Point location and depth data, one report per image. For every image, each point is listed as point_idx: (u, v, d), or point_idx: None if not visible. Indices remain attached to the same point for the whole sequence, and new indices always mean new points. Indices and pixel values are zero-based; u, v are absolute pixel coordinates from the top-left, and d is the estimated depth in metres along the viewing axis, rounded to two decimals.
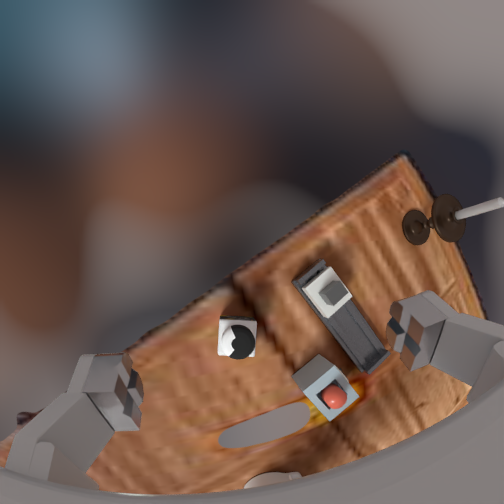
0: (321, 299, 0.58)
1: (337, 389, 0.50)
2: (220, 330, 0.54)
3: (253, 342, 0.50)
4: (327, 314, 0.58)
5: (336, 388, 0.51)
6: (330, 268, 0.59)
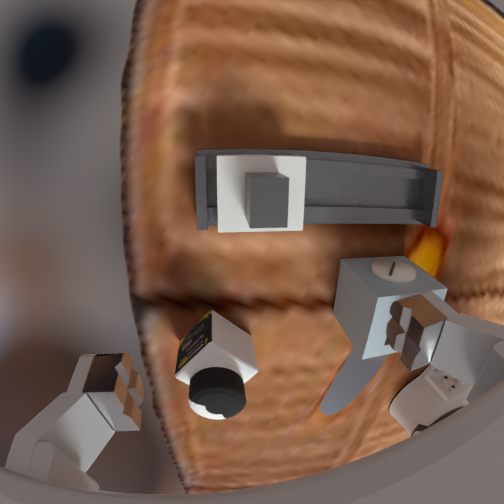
0: None
1: None
2: (190, 384, 0.32)
3: (231, 391, 0.27)
4: (295, 227, 0.28)
5: None
6: (220, 159, 0.25)
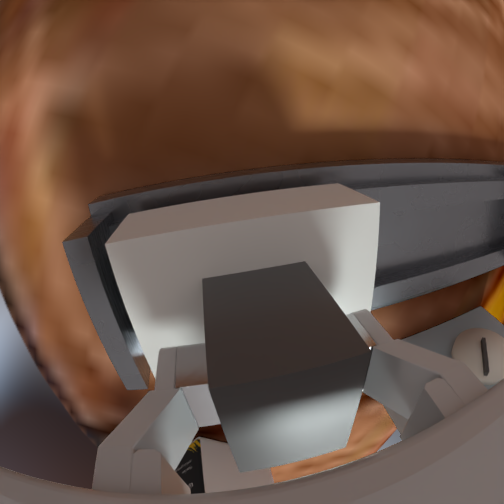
0: None
1: None
2: None
3: None
4: None
5: None
6: (117, 252, 0.07)
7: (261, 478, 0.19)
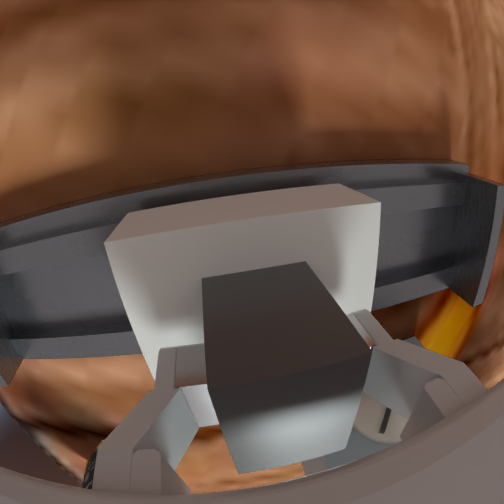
0: None
1: None
2: None
3: None
4: None
5: None
6: (116, 251, 0.07)
7: None
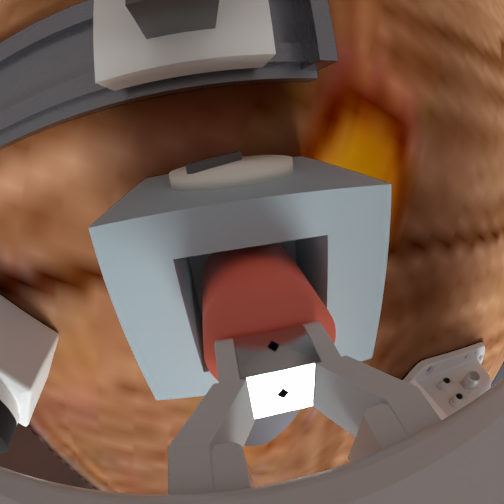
0: (179, 37, 0.10)
1: (213, 309, 0.08)
2: None
3: None
4: (258, 47, 0.10)
5: (212, 297, 0.09)
6: None
7: (31, 349, 0.17)
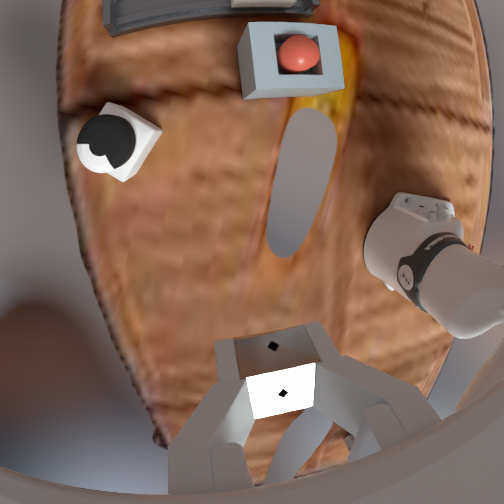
0: None
1: (284, 42, 0.25)
2: None
3: (112, 119, 0.24)
4: None
5: (283, 43, 0.25)
6: None
7: (150, 124, 0.32)
